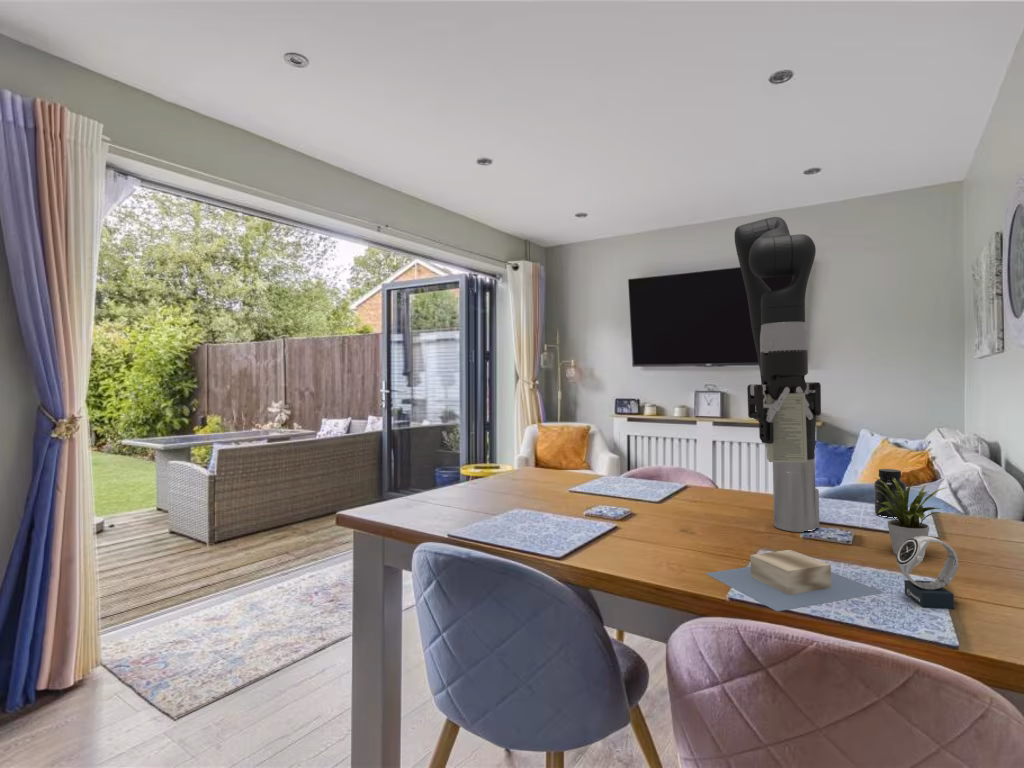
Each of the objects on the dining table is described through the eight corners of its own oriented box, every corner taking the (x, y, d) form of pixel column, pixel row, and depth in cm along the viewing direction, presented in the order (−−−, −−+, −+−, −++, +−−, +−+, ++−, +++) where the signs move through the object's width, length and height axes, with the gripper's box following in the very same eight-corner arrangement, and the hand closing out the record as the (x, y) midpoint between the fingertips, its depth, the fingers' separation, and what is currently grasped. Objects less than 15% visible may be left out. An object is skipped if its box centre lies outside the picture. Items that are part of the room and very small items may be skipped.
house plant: (845, 548, 118) (843, 472, 118) (886, 539, 124) (885, 467, 124) (916, 568, 105) (914, 483, 105) (959, 557, 110) (957, 476, 110)
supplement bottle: (870, 512, 148) (869, 468, 148) (898, 513, 146) (897, 468, 146) (882, 518, 141) (881, 472, 141) (912, 519, 140) (911, 472, 140)
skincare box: (803, 459, 99) (802, 392, 98) (808, 463, 94) (806, 392, 94) (765, 458, 101) (764, 392, 101) (767, 462, 97) (766, 393, 96)
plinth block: (790, 570, 103) (790, 549, 103) (831, 587, 95) (830, 564, 94) (750, 576, 101) (750, 555, 101) (788, 594, 92) (788, 571, 92)
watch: (891, 598, 92) (890, 532, 92) (946, 600, 90) (944, 533, 90) (908, 612, 86) (907, 542, 86) (967, 615, 85) (966, 543, 85)
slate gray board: (799, 563, 109) (799, 559, 109) (884, 597, 92) (884, 592, 92) (705, 577, 103) (705, 573, 103) (777, 616, 86) (777, 611, 86)
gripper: (799, 350, 103) (801, 437, 103) (735, 351, 99) (737, 442, 99) (833, 347, 96) (835, 441, 96) (765, 348, 92) (767, 446, 92)
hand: (785, 441), depth 98 cm, fingers closed on skincare box, 7 cm apart
